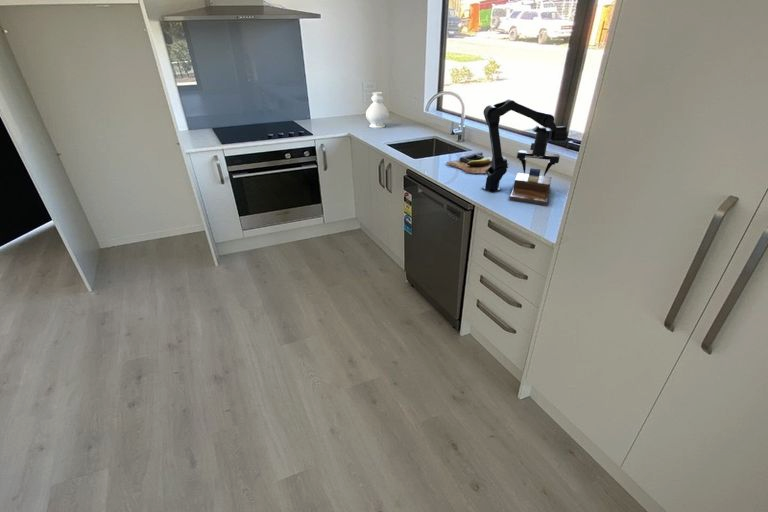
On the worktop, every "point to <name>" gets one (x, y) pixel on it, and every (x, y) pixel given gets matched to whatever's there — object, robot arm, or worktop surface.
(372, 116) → the decorative vase
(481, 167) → the cutting board
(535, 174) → the blue sleeved eraser
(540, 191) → the brown wooden cabinet
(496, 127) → the robot arm
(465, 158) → the door handle
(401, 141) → the worktop surface
